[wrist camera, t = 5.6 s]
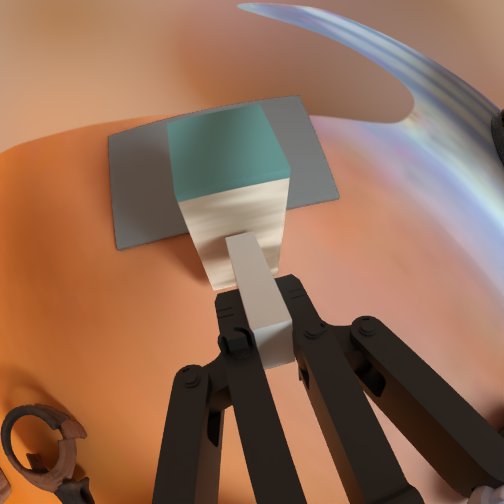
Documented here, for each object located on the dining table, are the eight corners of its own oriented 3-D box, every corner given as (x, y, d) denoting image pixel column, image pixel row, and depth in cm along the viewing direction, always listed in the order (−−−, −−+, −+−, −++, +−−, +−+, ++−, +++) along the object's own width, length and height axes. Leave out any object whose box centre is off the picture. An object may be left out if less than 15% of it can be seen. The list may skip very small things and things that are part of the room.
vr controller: (19, 437, 20) (-21, 422, 14) (72, 399, 25) (41, 377, 19) (82, 524, 16) (50, 536, 10) (141, 485, 21) (123, 491, 15)
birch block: (260, 222, 25) (259, 104, 15) (277, 275, 23) (290, 168, 12) (202, 235, 25) (166, 123, 14) (213, 290, 23) (174, 194, 12)
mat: (298, 98, 28) (299, 95, 28) (338, 199, 26) (340, 197, 26) (110, 138, 26) (108, 136, 26) (119, 250, 24) (117, 249, 24)
